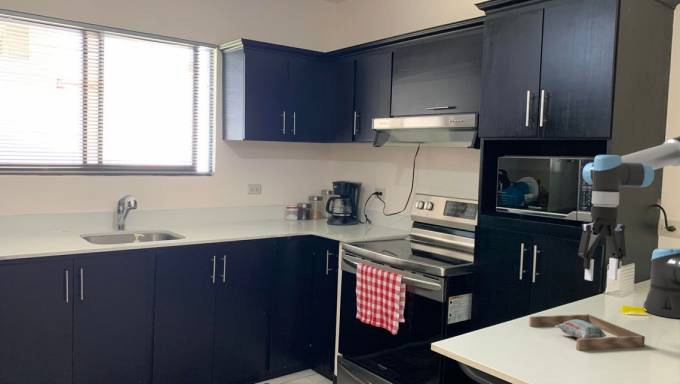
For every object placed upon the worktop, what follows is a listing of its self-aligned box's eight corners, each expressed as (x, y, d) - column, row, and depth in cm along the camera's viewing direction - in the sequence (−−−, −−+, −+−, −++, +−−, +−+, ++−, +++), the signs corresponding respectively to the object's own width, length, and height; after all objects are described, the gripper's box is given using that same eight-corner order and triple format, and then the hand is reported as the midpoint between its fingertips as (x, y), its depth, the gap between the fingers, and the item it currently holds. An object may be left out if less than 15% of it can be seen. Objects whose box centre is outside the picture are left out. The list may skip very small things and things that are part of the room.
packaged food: (583, 345, 158) (585, 328, 158) (553, 332, 169) (555, 316, 169) (606, 343, 161) (608, 326, 161) (575, 330, 172) (577, 315, 172)
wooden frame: (587, 323, 183) (588, 314, 182) (644, 346, 159) (644, 336, 159) (529, 325, 177) (529, 316, 177) (578, 350, 154) (579, 339, 154)
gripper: (624, 205, 174) (620, 276, 175) (567, 204, 169) (563, 277, 170) (642, 207, 167) (638, 281, 168) (583, 206, 161) (579, 282, 163)
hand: (600, 279), depth 169 cm, fingers open, 8 cm apart
